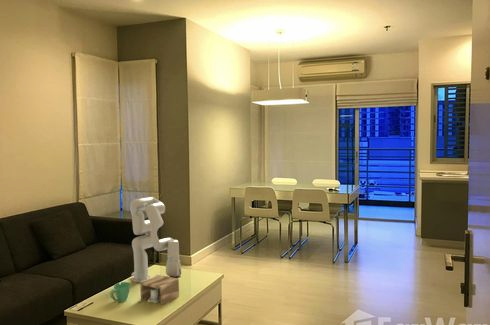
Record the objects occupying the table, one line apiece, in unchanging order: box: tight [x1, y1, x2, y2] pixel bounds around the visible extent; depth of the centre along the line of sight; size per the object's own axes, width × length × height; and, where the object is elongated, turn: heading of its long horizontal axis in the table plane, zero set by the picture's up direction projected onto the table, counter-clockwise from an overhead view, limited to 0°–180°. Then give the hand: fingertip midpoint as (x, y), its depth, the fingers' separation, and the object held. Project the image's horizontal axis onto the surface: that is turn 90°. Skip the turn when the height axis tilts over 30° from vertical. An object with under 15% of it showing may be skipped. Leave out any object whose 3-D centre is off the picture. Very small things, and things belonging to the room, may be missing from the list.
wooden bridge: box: [139, 274, 180, 306], centre depth 260 cm, size 18×16×12 cm
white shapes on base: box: [147, 289, 161, 304], centre depth 262 cm, size 7×20×8 cm, turn 152°
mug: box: [109, 281, 131, 302], centre depth 255 cm, size 15×10×10 cm
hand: (174, 285), depth 272 cm, fingers closed
